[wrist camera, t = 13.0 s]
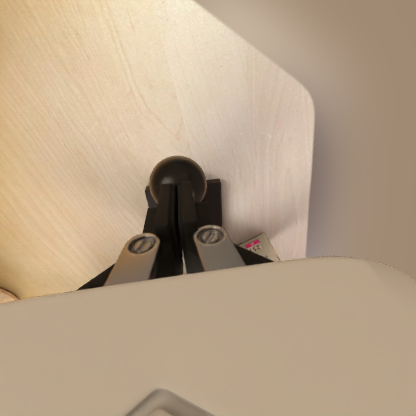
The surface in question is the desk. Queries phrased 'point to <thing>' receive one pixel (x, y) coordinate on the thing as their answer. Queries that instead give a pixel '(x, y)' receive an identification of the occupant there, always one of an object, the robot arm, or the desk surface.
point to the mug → (6, 296)
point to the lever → (178, 179)
